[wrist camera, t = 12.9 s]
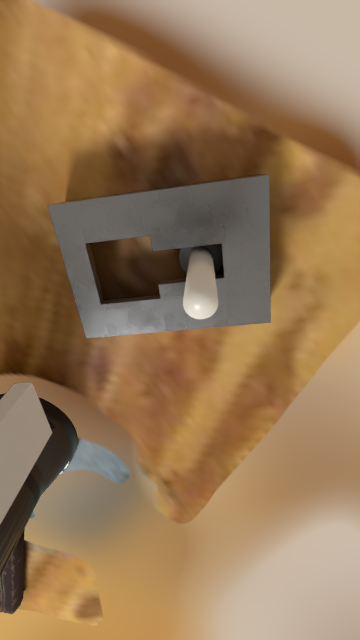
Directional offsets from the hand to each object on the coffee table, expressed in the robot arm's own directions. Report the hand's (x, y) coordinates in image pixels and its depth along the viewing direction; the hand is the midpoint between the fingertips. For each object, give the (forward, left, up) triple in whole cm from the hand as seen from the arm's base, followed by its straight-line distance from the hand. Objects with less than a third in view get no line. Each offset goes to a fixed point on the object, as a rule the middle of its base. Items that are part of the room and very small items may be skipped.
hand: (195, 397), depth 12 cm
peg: (0, 0, -24) cm, 24 cm away
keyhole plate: (-3, 0, -24) cm, 24 cm away
